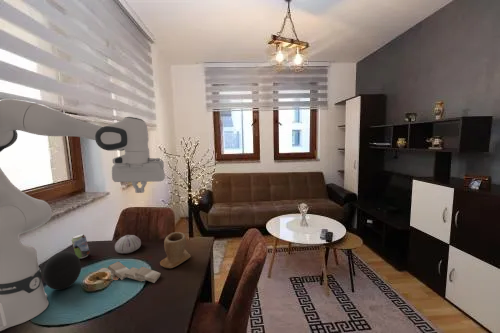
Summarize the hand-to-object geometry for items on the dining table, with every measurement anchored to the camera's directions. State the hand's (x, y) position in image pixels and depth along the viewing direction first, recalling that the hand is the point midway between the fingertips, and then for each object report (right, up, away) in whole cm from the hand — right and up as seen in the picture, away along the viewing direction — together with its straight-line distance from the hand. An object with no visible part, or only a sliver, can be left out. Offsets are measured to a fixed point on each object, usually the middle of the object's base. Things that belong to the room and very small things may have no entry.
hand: (140, 192), depth 98 cm
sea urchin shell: (-23, -36, +37) cm, 57 cm away
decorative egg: (-33, -40, +3) cm, 51 cm away
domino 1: (-15, -37, +9) cm, 41 cm away
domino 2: (-10, -38, +9) cm, 40 cm away
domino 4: (0, -38, +8) cm, 39 cm away
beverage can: (-44, -37, +29) cm, 64 cm away
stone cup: (+9, -37, +22) cm, 44 cm away
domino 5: (+5, -38, +7) cm, 39 cm away
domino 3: (-13, -39, +9) cm, 42 cm away
